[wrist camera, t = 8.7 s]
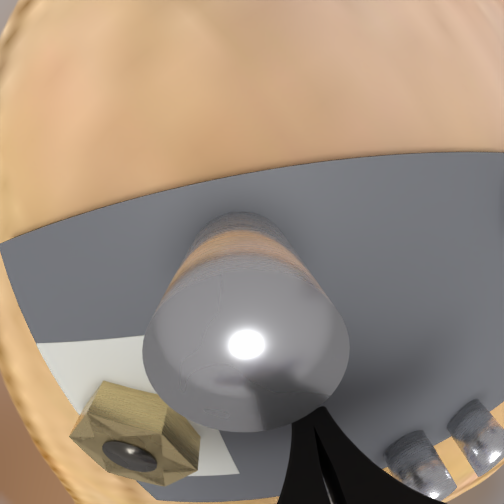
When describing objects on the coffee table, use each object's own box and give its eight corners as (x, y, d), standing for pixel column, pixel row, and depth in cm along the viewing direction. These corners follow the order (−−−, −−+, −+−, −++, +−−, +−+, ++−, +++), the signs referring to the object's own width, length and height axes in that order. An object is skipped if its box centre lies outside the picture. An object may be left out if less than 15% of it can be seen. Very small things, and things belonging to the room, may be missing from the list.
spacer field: (480, 412, 13) (511, 452, 8) (266, 492, 13) (274, 555, 8) (531, 173, 8) (603, 189, 3) (179, 222, 8) (111, 293, 3)
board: (497, 395, 14) (503, 401, 13) (158, 489, 14) (156, 500, 13) (540, 155, 9) (552, 156, 8) (12, 238, 9) (-3, 244, 8)
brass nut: (152, 371, 10) (138, 409, 8) (213, 451, 11) (212, 485, 9) (65, 385, 10) (47, 415, 8) (131, 458, 11) (124, 486, 9)
